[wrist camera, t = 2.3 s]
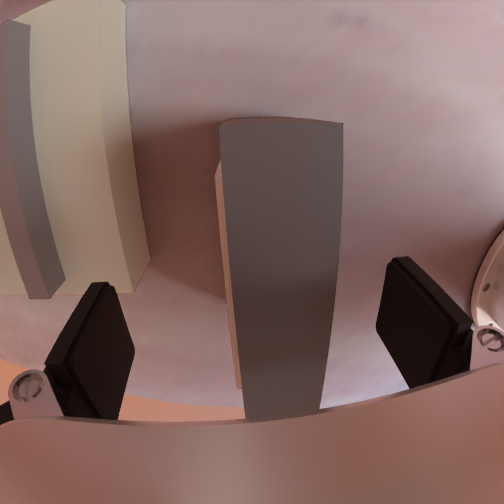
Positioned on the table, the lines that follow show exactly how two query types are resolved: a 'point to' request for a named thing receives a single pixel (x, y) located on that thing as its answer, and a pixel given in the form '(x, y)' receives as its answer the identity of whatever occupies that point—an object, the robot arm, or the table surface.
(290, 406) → the thin grey panel
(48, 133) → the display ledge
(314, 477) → the robot arm
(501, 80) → the table surface
